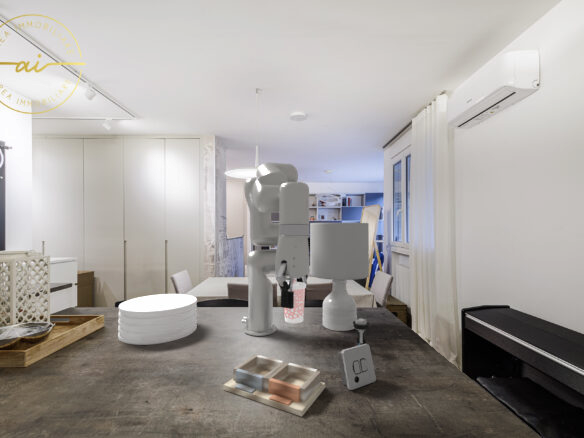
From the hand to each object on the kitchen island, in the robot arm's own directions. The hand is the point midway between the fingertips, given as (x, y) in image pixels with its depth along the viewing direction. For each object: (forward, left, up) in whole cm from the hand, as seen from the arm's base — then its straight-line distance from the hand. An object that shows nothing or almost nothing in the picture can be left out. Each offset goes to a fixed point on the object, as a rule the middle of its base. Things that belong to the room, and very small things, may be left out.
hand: (294, 303), depth 73 cm
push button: (+8, +32, -22) cm, 40 cm away
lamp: (-7, +53, -22) cm, 58 cm away
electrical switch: (+12, +12, -22) cm, 28 cm away
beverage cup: (0, 0, -4) cm, 4 cm away
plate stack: (-67, +13, -22) cm, 72 cm away
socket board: (-5, -1, -22) cm, 22 cm away
